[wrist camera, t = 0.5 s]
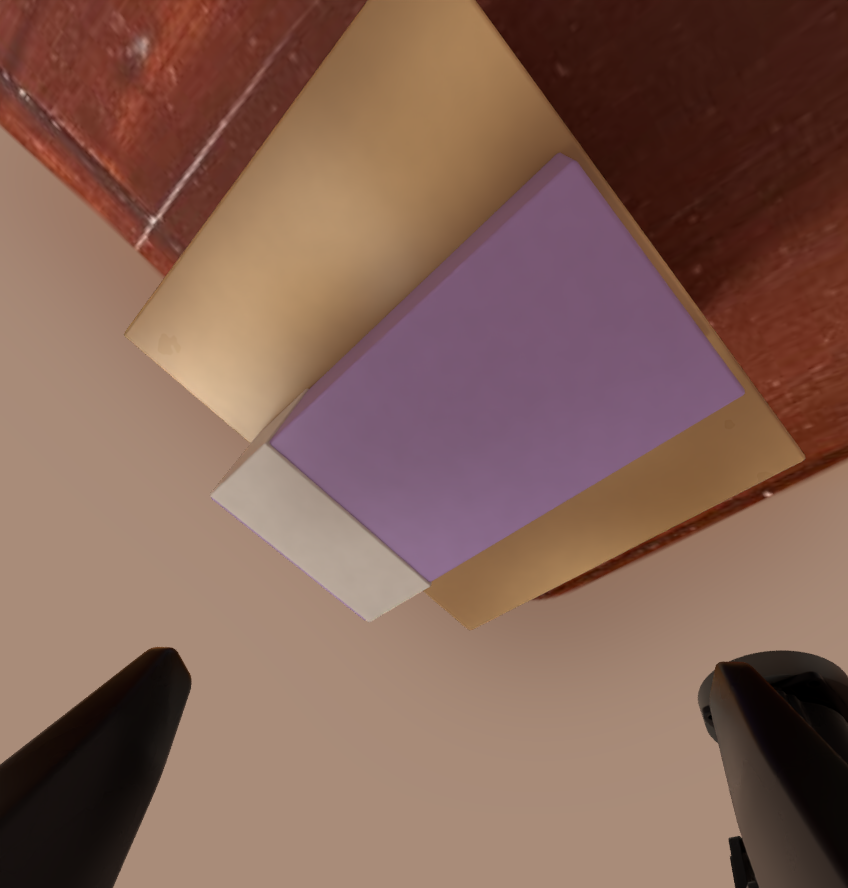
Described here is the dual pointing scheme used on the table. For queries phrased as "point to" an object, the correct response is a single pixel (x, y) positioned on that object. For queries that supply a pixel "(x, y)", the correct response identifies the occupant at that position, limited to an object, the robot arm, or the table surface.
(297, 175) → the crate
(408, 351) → the chocolate bar
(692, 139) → the table surface
